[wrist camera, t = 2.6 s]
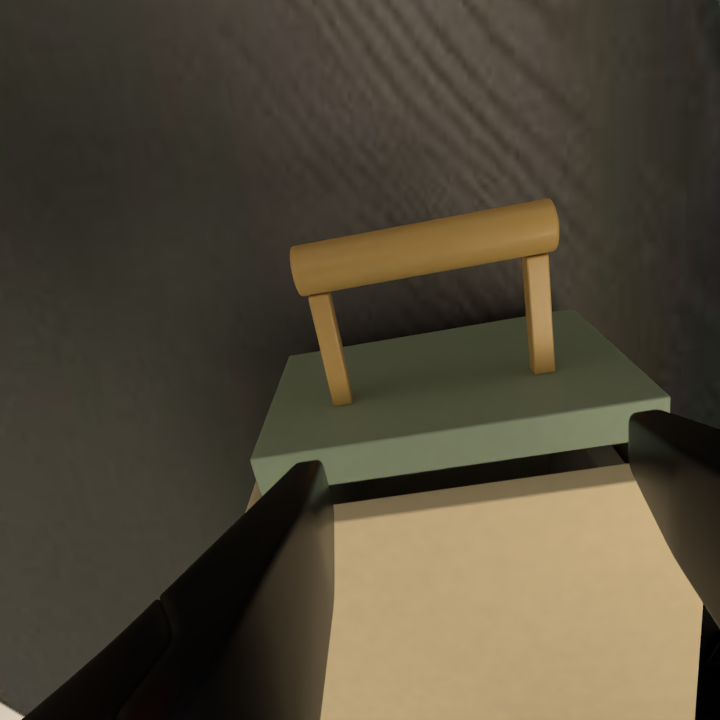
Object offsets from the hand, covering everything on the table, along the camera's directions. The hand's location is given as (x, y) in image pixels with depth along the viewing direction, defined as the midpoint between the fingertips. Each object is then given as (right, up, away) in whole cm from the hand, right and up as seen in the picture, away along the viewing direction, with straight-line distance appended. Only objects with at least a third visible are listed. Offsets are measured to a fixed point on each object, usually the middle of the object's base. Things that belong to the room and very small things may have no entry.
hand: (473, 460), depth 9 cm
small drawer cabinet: (+2, -5, +16) cm, 17 cm away
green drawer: (+2, -1, +14) cm, 14 cm away
